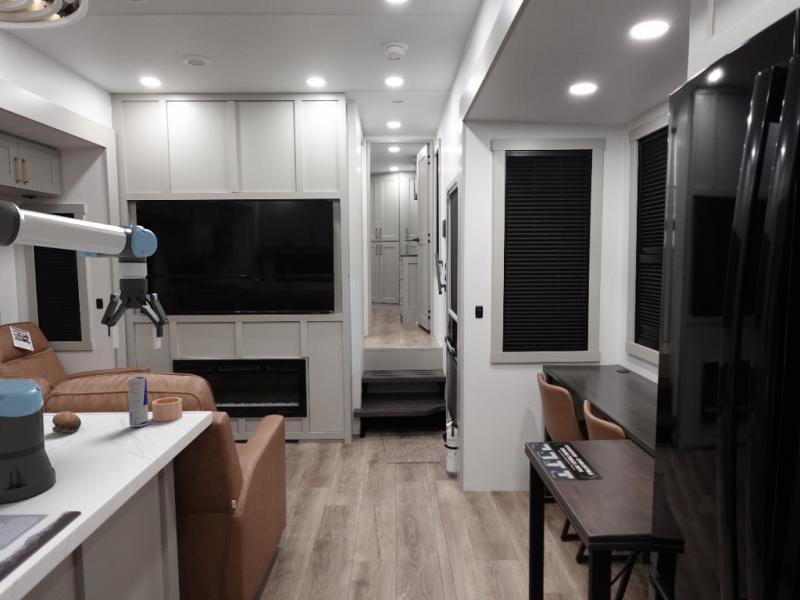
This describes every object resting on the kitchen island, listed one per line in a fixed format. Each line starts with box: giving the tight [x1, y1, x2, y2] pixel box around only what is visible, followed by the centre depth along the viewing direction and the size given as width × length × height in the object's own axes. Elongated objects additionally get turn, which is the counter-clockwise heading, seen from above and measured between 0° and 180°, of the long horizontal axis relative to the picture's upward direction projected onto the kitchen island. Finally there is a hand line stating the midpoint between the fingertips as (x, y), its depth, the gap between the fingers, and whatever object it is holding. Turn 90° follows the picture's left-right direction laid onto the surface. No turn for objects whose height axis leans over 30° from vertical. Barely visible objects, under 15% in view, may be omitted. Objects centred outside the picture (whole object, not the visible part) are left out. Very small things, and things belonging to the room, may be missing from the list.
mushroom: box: [52, 410, 82, 434], centre depth 153 cm, size 8×8×6 cm
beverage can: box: [127, 376, 149, 428], centre depth 157 cm, size 5×5×15 cm
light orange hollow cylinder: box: [151, 396, 183, 423], centre depth 166 cm, size 9×9×6 cm
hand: (136, 348), depth 156 cm, fingers open, 13 cm apart
